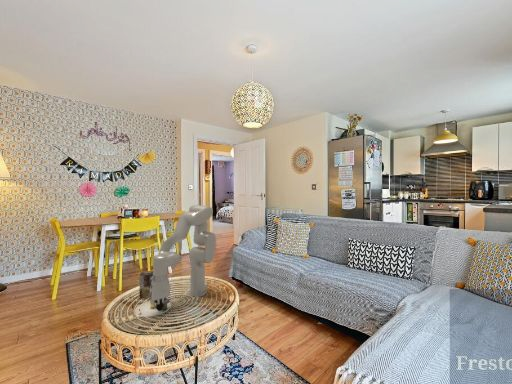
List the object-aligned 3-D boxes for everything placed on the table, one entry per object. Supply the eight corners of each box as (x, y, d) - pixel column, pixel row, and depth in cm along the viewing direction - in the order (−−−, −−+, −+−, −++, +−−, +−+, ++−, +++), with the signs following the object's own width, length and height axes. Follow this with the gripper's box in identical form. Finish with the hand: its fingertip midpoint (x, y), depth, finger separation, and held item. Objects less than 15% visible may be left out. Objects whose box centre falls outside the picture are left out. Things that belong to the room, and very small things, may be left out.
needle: (148, 307, 143) (148, 301, 143) (153, 304, 147) (153, 298, 147) (164, 311, 139) (164, 304, 139) (169, 308, 142) (169, 302, 142)
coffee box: (155, 294, 164) (155, 270, 164) (154, 299, 158) (154, 274, 158) (140, 296, 161) (140, 272, 161) (139, 300, 155) (139, 275, 155)
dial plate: (156, 299, 158) (156, 294, 158) (178, 307, 148) (178, 302, 148) (127, 312, 141) (127, 307, 141) (149, 322, 131) (149, 316, 131)
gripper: (150, 282, 130) (149, 317, 130) (175, 275, 142) (174, 307, 142) (143, 279, 135) (143, 312, 135) (168, 272, 147) (168, 303, 147)
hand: (159, 309), depth 138 cm, fingers closed
